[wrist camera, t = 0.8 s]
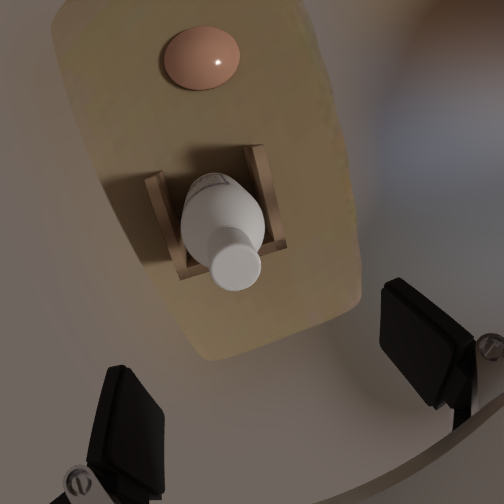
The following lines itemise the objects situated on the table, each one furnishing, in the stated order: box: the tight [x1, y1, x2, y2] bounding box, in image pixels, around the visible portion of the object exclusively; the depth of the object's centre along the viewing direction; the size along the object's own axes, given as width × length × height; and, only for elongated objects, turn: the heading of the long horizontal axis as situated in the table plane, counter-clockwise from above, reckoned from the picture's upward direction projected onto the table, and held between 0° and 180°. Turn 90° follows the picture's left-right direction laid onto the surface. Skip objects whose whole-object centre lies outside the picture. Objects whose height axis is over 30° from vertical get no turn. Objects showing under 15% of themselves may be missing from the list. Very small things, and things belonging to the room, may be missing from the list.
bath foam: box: [180, 173, 265, 291], centre depth 24 cm, size 7×7×20 cm
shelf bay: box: [144, 144, 287, 280], centre depth 31 cm, size 12×12×6 cm
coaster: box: [164, 26, 240, 91], centre depth 26 cm, size 9×9×1 cm
